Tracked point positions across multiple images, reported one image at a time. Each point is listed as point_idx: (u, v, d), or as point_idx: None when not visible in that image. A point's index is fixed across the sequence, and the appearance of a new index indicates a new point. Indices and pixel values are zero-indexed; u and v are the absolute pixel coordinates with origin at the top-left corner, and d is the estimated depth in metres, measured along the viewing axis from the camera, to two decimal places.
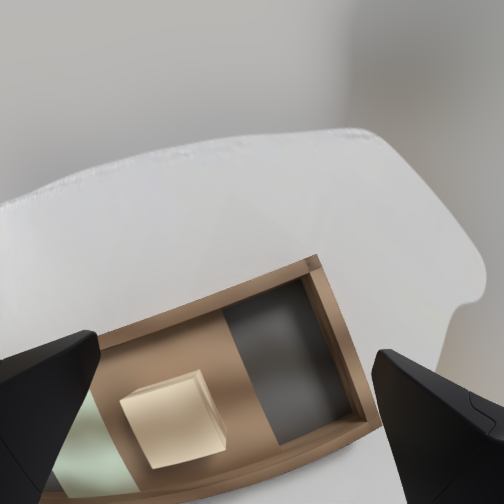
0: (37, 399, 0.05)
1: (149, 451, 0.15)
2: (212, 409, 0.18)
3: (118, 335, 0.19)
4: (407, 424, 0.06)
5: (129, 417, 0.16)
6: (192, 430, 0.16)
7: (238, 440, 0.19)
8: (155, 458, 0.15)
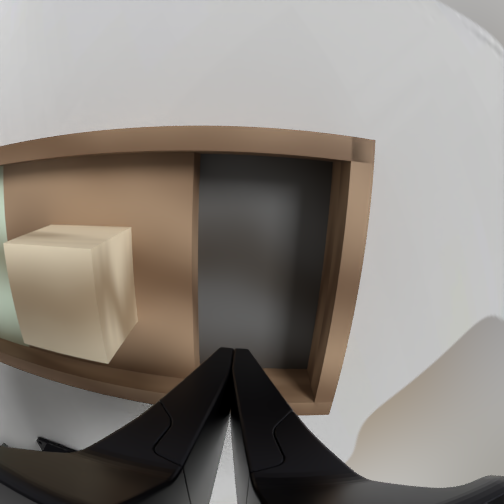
0: (211, 439, 0.05)
1: (23, 321, 0.11)
2: (118, 295, 0.13)
3: (41, 147, 0.11)
4: (233, 433, 0.06)
5: (9, 269, 0.10)
6: (73, 320, 0.11)
7: (147, 340, 0.16)
8: (28, 332, 0.11)
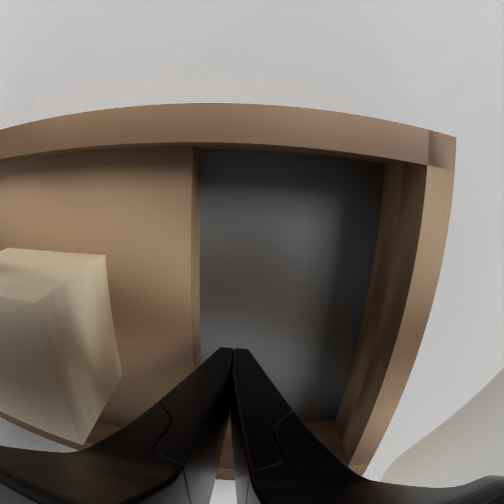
0: (211, 438, 0.05)
1: None
2: (90, 354, 0.08)
3: None
4: (233, 433, 0.06)
5: None
6: (30, 391, 0.07)
7: (136, 397, 0.11)
8: None
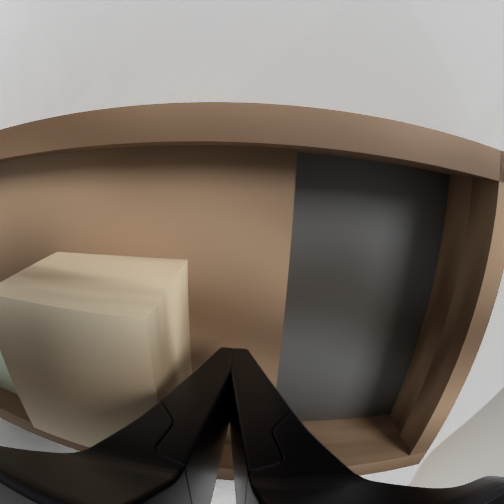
0: (213, 439, 0.05)
1: (29, 403, 0.07)
2: (177, 368, 0.08)
3: (45, 133, 0.07)
4: (232, 433, 0.06)
5: None
6: (114, 416, 0.07)
7: None
8: (38, 417, 0.07)
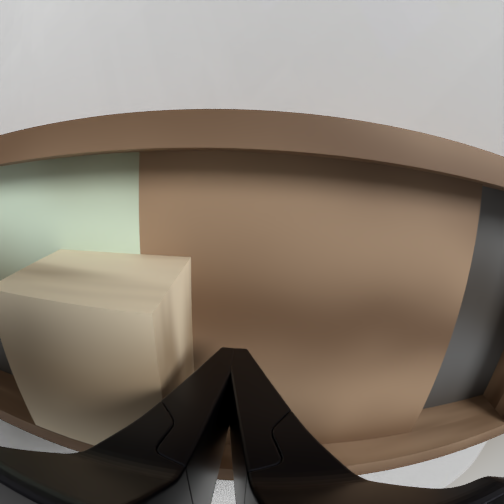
0: (213, 439, 0.05)
1: (31, 401, 0.07)
2: (180, 364, 0.08)
3: (300, 130, 0.07)
4: (232, 433, 0.06)
5: (1, 329, 0.06)
6: (117, 413, 0.07)
7: (379, 406, 0.11)
8: (40, 415, 0.07)
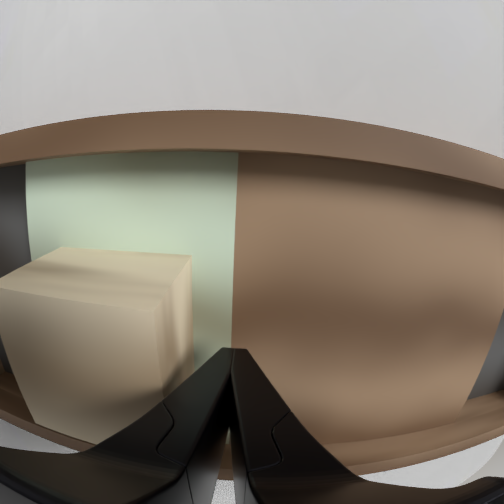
0: (213, 439, 0.05)
1: (31, 398, 0.07)
2: (181, 362, 0.08)
3: (409, 147, 0.07)
4: (232, 433, 0.06)
5: (1, 326, 0.06)
6: (117, 410, 0.07)
7: (433, 398, 0.11)
8: (40, 413, 0.07)
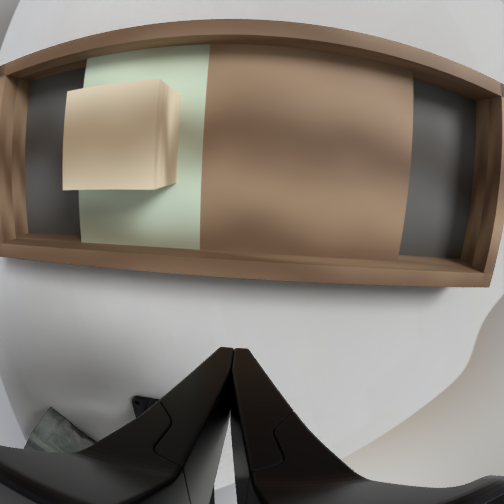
0: (211, 439, 0.05)
1: (68, 163, 0.13)
2: (168, 139, 0.14)
3: (296, 29, 0.13)
4: (233, 433, 0.06)
5: (67, 113, 0.12)
6: (126, 147, 0.12)
7: (365, 220, 0.17)
8: (71, 175, 0.13)
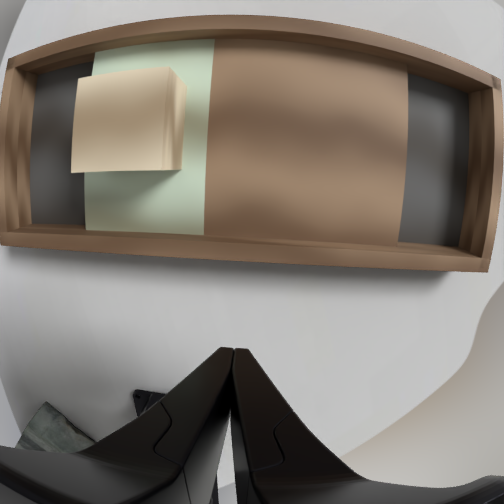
0: (211, 438, 0.05)
1: (78, 147, 0.13)
2: (175, 125, 0.15)
3: (297, 24, 0.13)
4: (233, 433, 0.06)
5: (78, 99, 0.12)
6: (136, 130, 0.13)
7: (365, 206, 0.17)
8: (80, 158, 0.13)
